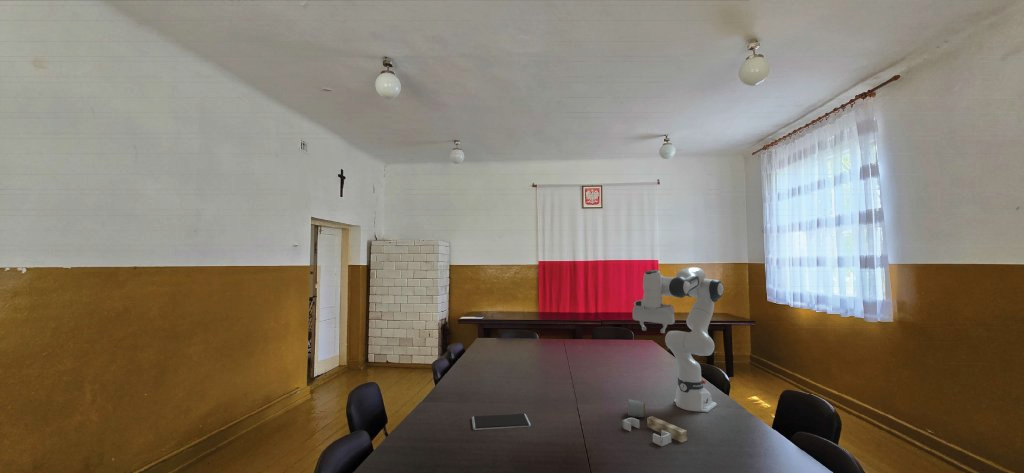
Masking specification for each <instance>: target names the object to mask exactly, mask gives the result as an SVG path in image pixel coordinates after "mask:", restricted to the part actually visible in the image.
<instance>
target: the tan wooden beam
mask: <svg viewBox="0 0 1024 473" xmlns="http://www.w3.org/2000/svg"><path fill="white" fill-rule="evenodd" d="M646 420H647V422H646V423H647V428H649V429H651V430H653V431H655V432H657V433H660V434H661V431H662V430H663V431H666V432H668V433H670V434H671V439H674V441H678V442H679V443H685V442H686V441H688V436H687V435H688V431H687V429H683V428H682V427H679V426H676V425H674V424H672V423H670V422H667V421H665V420H662V419H660V418H659V417H656V416H653V415H651V416H649V417H647V419H646Z"/></svg>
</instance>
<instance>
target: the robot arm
mask: <svg viewBox="0 0 1024 473" xmlns="http://www.w3.org/2000/svg"><path fill="white" fill-rule="evenodd" d="M642 289H643V296H642V297H643V298H642V299H639V300H636V301H634V302H633V305H634V306H633V308H632V319H633V321H638V322H639V325H640V326H641V331H645V332H646V331H647V326H645V324H644V323H645V322H646V323H647V322H648V323H655V324H662V326H663V327H662V328H661V329H660V333H661V334H666V335H665V338H664V342H665V345H666V347H667V348H668V349H669V350H670V351H671V352H672V353H673V355H674V357H675V360H676V362H677V363H676V364H677V371H678V377H677V387H676V390H675V391H676V392H675V398H674V403H675V405H676V406H677V407H678V408H680V409H682V410H685V411H689V412H702V413H708V412H710V411H711V410H713V409H714V408H716V407H717V406H718V404H717V402H715V401H713V399H712V394H711V393H710V392H709V390H708V389H706V388H705V386H704V385H706V383H707V381H706V380H705V379H702V367H701V365H700V363H699V362H698V361H696V360H695V359H694V357H693V356H692V355H696V356H699V357H700V356H701V357H704V356H712V355H713V353H714V351H715V342H714V340H713V339H712V337H711V336H710V335H709V331H708V330H709V326H710V323H711V320H712V317H713V313H714V311H715V303H716V302H718V301H719V299H721V298H722V297H723V295H724V291H725V287H724V284H723V282H722V281H721V280H719V279H714V278H713V279H712V278H706V273H705V270H703V269H702V268H700V267H697V266H689V267H688V266H687V267H685V268H683V269H682V268H681V269H680V270H678V271H677V272H676V274H675V276H664V275H662V274H661V270H658V269H651V270H646V271H645V272H644V274H643V280H642ZM663 296H664V297H675V298H680V299H681V298H685V297H686V296H687V297H689V298H692V297H693V298H696V301H695V302H694V303H693V305H692V306H691V308H690V311H689V313H688V315H687V318H686V322H685V323H686V325H687V328H689V329H690V330H691V331H689V332H687V331H681V330H668V331H667V333H666V329H667V327H668V325H674V324H675V322H676V318H675V317H676V316H675V307H674V306H673V305H671V304H665V303H663Z"/></svg>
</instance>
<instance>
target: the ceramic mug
mask: <svg viewBox="0 0 1024 473" xmlns="http://www.w3.org/2000/svg"><path fill="white" fill-rule="evenodd" d="M627 403H628V404H627V405H628V406H627V407H628V408H627V410H628V411H627V412H628V413H627V416H628V417H633V418H645V416H646V403H645V402H644V401H640V400H633V399H629V398H628V402H627Z"/></svg>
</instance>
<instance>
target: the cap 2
mask: <svg viewBox="0 0 1024 473" xmlns="http://www.w3.org/2000/svg"><path fill="white" fill-rule="evenodd" d="M660 434H661V435H659V434H656V433H652V442H653V443H654V444H656V445H658V446H660V447H664V446H667V445H669V444H671V443H672V439H673V438H671V434H670V433H668V432H666V431H663V430H662V431H661V433H660Z"/></svg>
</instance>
